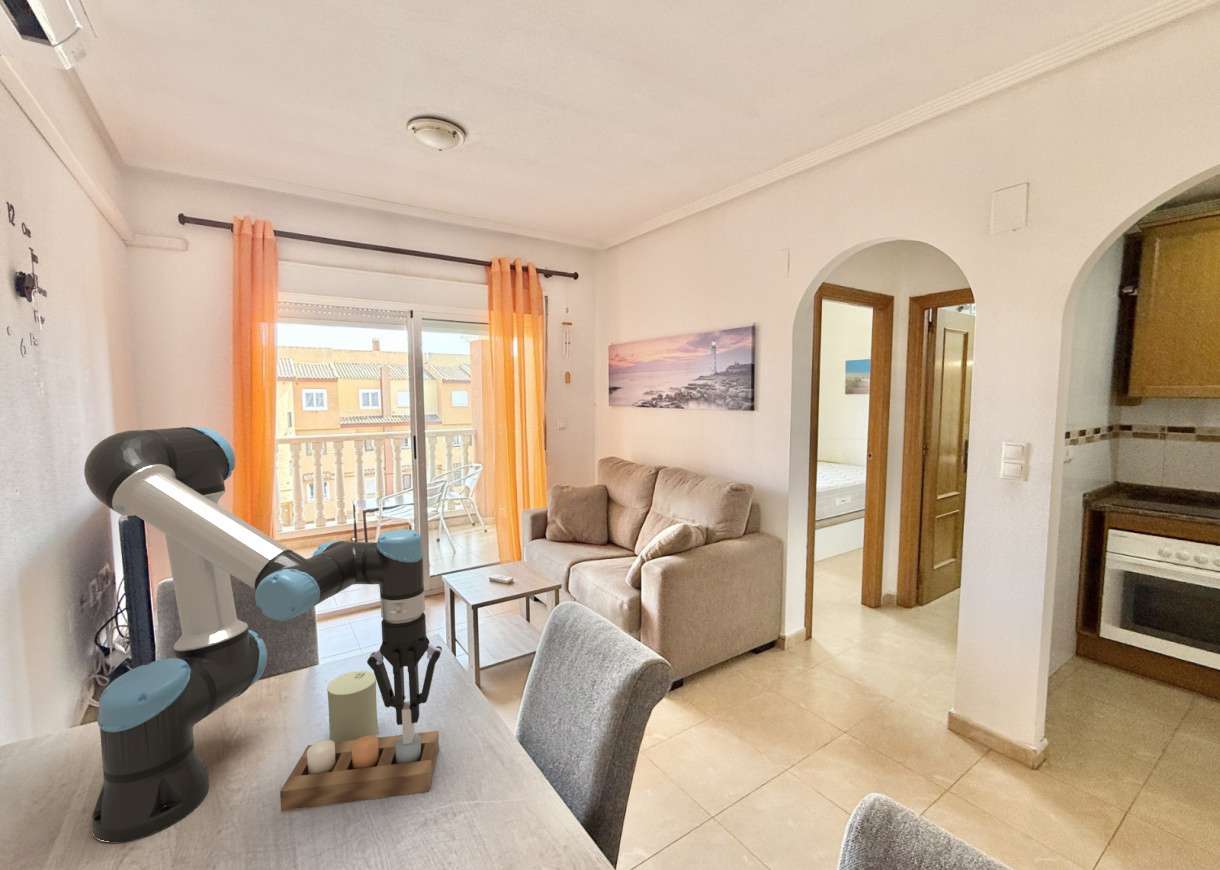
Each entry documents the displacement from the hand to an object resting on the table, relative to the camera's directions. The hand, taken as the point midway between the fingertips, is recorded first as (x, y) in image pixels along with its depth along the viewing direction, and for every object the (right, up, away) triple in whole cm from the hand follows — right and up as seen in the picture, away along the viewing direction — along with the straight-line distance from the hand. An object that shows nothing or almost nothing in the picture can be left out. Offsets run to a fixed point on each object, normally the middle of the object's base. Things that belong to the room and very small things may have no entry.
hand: (409, 738), depth 98 cm
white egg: (-15, -5, -2) cm, 16 cm away
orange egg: (-8, -5, -1) cm, 9 cm away
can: (-16, -6, +11) cm, 20 cm away
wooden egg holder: (-8, -7, -1) cm, 10 cm away
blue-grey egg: (0, -5, 0) cm, 5 cm away
